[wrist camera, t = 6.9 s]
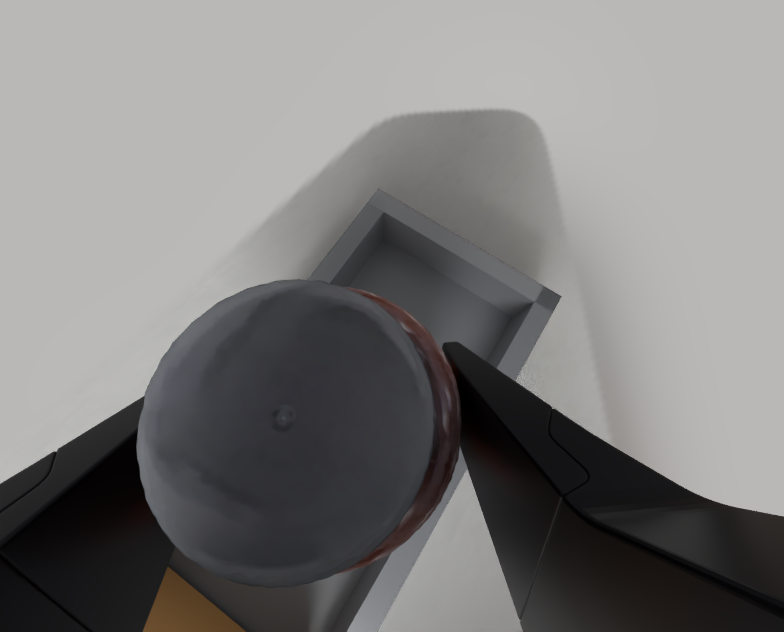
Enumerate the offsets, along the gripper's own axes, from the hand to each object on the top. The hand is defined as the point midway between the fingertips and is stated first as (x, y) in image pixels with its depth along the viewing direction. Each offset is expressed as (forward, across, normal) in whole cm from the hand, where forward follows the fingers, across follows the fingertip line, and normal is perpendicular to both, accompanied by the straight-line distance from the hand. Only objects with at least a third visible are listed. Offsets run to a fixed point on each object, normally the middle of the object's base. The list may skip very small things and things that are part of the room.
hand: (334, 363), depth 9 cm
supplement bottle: (+4, 0, +6) cm, 7 cm away
